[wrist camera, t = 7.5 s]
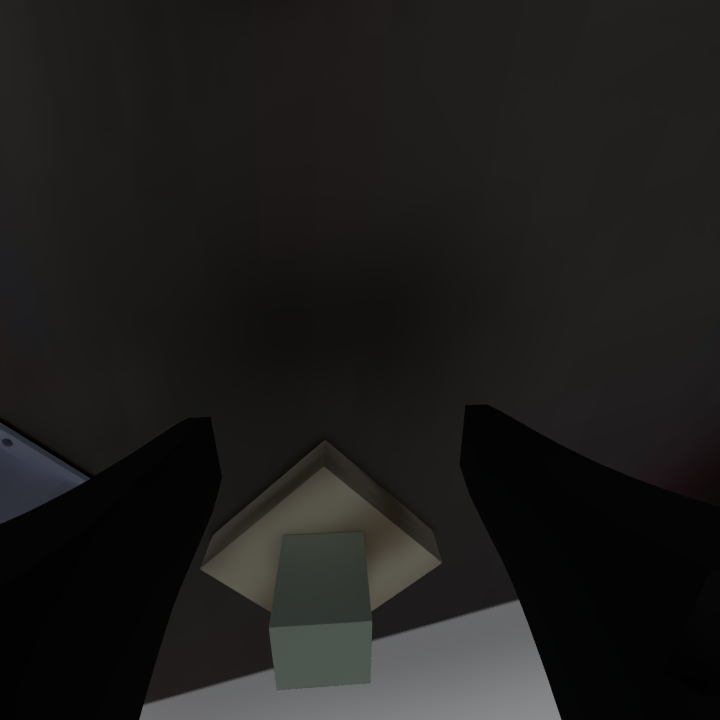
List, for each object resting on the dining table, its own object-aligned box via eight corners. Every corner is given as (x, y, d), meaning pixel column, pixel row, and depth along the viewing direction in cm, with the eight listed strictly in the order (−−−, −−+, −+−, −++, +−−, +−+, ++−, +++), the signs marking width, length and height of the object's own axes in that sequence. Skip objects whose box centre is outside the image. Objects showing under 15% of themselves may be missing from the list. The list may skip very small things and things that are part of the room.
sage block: (288, 591, 23) (276, 690, 18) (282, 535, 21) (268, 627, 16) (362, 587, 23) (370, 682, 18) (363, 531, 21) (371, 621, 17)
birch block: (215, 528, 24) (199, 568, 22) (325, 434, 22) (323, 466, 20) (324, 600, 28) (323, 644, 25) (430, 524, 25) (442, 562, 23)
